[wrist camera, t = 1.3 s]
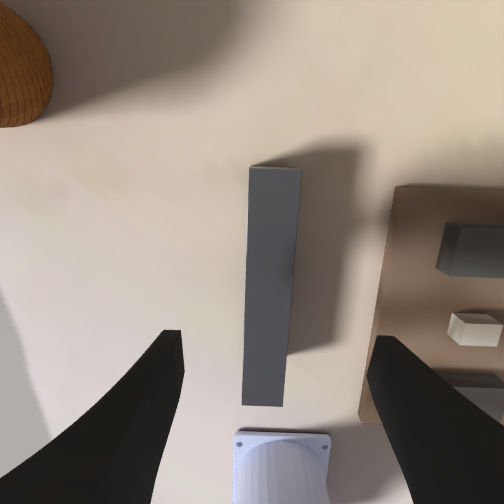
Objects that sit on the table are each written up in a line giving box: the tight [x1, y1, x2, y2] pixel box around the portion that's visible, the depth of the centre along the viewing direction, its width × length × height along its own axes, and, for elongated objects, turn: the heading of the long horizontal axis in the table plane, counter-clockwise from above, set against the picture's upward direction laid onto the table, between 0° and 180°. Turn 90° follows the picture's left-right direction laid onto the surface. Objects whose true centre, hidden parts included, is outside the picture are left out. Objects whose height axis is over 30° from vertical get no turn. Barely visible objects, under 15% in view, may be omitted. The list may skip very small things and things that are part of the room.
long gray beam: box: [242, 166, 302, 407], centre depth 19 cm, size 14×3×5 cm, turn 178°
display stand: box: [358, 187, 504, 425], centre depth 21 cm, size 18×12×2 cm, turn 178°
